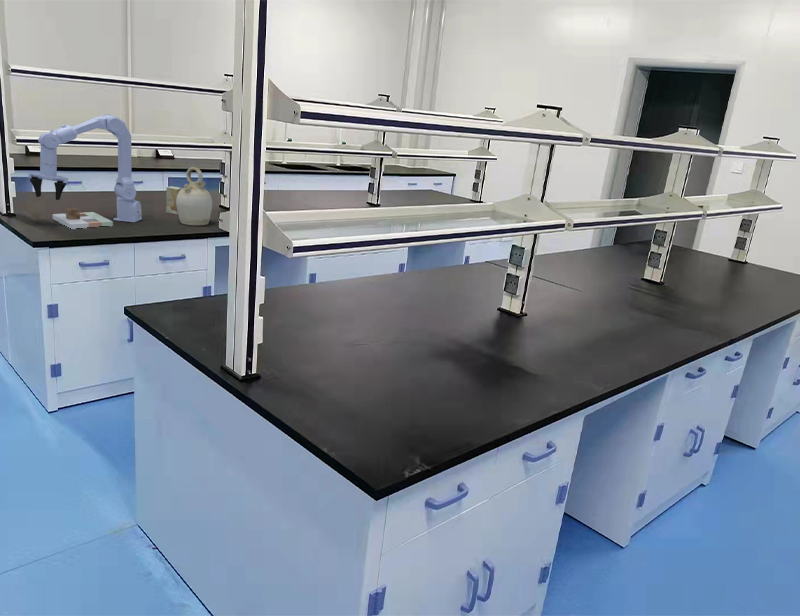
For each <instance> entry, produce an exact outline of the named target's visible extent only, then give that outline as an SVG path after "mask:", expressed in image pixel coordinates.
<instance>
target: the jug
mask: <svg viewBox="0 0 800 616" xmlns="http://www.w3.org/2000/svg"><path fill="white" fill-rule="evenodd" d="M193 171H195V172H196V173H197V176H198V178H197V180H196V181H195V180H193V179H192V176H191V175H192V172H193ZM185 174H186V180H187V182H188V183H185V184H184V186H183V187H182V188H183V189H181V190H180V191H179V193H178V195H177V198H176V205H177V210H178V214H177V215H178V218H179V222H180V223H181V224H182V225H186V226H206V225H209V222H210V220H211V214H212V210H213V209H212V208H213V200H212V196H211V194H210V192H209V191H208V190H207V189H205V186H206V184H207V183H206V182H204V181H203V177H204V176H203V173H202V170H200V168H199V167H197V166H191V167H189V168H188V169H187V170H186V173H185Z"/></svg>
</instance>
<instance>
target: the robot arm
mask: <svg viewBox="0 0 800 616" xmlns="http://www.w3.org/2000/svg"><path fill="white" fill-rule="evenodd" d="M96 129H100V130H104V131H105V130H106V131H107V132H109V133H111V134H112V135H113V136H114V137H115V138H117V171H118V172H117V173H118V174H117V178H116V183H115V185H114V188H113V190H114V194H115V195H116V215H117V217H114V218H113V221H120V222H128V223H129V222H130V223H137V222H139V221H141V220H143V217H142V204H141V202H140V201H139V200H136V199H135V198H136V196H137V190H136V187H135V182H134V181H133V180H134V179H132V134H131V132H130V130H129V129H128V127H127V126H126V122H125V121H124V120H122V119H121V118H120V117H118V116H114V115H111V114H104V115H99V116H96V117H93V118H91V119H88V120H86V121H84V122H81V123H79V124H76V125H73V126H71V125H69V124H67V125H66V124H62V125H61V127H58V128H56V129H54V130H53V129H50V130H49V132H42V133H41V134H40V135H39V136H38V139H37V140H38V143H39V144H40V153H39V157H40V160H39V162H40V163H39V166H40V167H39V169H40V170H39V171H40V172H34V171H33V172H32V171H30V172H28V178H30V179H29V182H30V183H31V185H32V187H33V189H34V192H35V197H37V198H39V197H41V196H42V184H43V180H46V181H50V182H51V181H52V182H54V189H55V200H56V201H59V200H61V197H62V193H63V192H64V189H65V187H66V186H67V184H68V183H69V177H66V176H65V177H64V176H61V175H57V170H58V169H57V166H58V164H57V163H58V153H57V150H58V149H57V148H58V147H59V146H60V145H63V144H65V143H66V144H67V143H68V142H71V141H74V140H76V139H77V137H78V135H80V134H84V133H86V132H89V131H93V130H96Z"/></svg>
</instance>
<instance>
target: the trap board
mask: <svg viewBox="0 0 800 616" xmlns="http://www.w3.org/2000/svg"><path fill="white" fill-rule="evenodd" d="M52 220H54V221H56V222H57V221H58V222H57V223H58V224H61V225H63V226H64V225H65V226H64V227H66V226H67V227H66V228H68V227H69V228H68V229H70V228H71V229H70V230H77V229H76V228H83V229H88V228H87V227H97V228H99V227H98V226H110V227H114V222H113V221H114V220H113V221H112V220H111V219H109V218H106V217H104V216H102V215H100V214H98V213H96V212H94V211H89V212H86V211H85V212H80V219H75V220H69V219H67V218H66V213H55V214H54V213H53V214H52Z"/></svg>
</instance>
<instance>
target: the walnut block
mask: <svg viewBox="0 0 800 616" xmlns="http://www.w3.org/2000/svg"><path fill="white" fill-rule="evenodd" d="M64 209H65V214H66V218H67V219H69V220H75V219H80V213H81V211H80V209H79V208H78V207H65V208H64Z"/></svg>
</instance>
